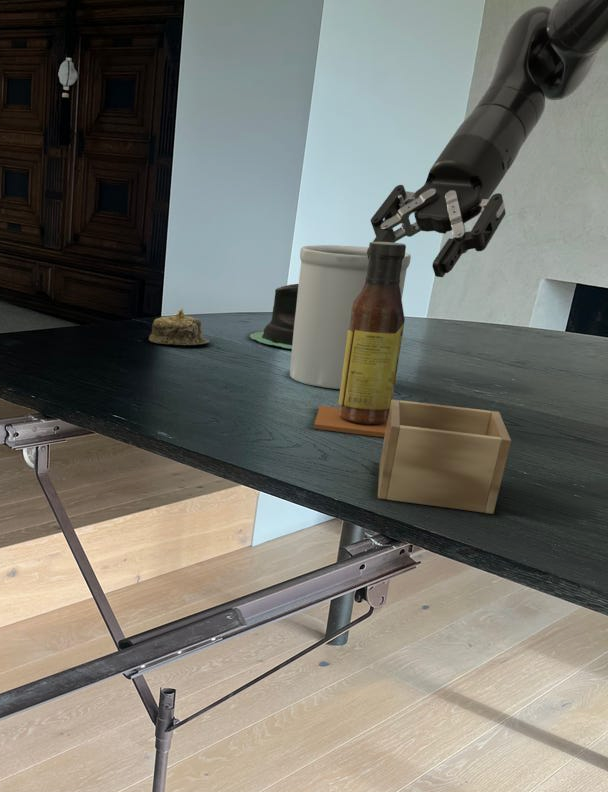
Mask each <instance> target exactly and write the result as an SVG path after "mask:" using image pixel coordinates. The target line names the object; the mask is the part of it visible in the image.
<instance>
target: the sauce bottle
mask: <svg viewBox="0 0 608 792" xmlns="http://www.w3.org/2000/svg"><path fill="white" fill-rule="evenodd" d="M368 244H369V245H368V247H369V250H368V255H369V263H368V270H367V276H366V278H365V280H366V281H365V285H364V287H363V289H362V291H361V293H360V294H359V295H358V296H357V298H356V299H355V300H354V302H353V306H352V311H351V319H350V327H349V328H348V334H347V342H346V350H345V357H344V365H343V372H342V380H341V387H340V389H339V395H338V396H339V397H338V401H337V402H338V405H339V406H338V407H337V408H338V415H339V416H340V417H341V418H342V419H344V420H347V421H350V422H354V423H359V424H381V423H384V422H386V421H387V419H388V415H389V410H390V405H391V400H392V399H393V398H394V392H395V385H396V379H397V373H398V365H399V358H400V354H401V348H402V347H401V346H402V341H403V340H402V339H403V335H404V327H405V313H404V306H403V301H402V300H403V298H402V299H401V292H400V286H399V283H400V273H401V267H402V260H403V258H404V256H405V253H406V249H407V245H406V244H405V243H403V242H394V243H392V242H373V241H370V242H369V243H368ZM393 400H394V399H393Z"/></svg>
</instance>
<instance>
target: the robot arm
mask: <svg viewBox="0 0 608 792" xmlns="http://www.w3.org/2000/svg"><path fill="white" fill-rule="evenodd" d="M607 43H608V0H557V1H556V2H555V3H554V4H553V6H552V8H550V7H549V6H546V5H538V6H534V7H531V8H529V9H527V10H526V11H524V12H522V14H521V15H520V16H519V17H518V18H517V19H516V20H515V21H514V23H512V26H511V27H510V29H509V31H508V33H507V34H506V37H505V39H504V42H503V44H502V47H501V49H500V53H499V55H498V60H497V63H496V67H495V70H494V73H493V76H492V79H491V81H490V83H489V85H488V88H487V89H486V91H485V92H484V94H483V96H482V97H481V98H480V100H479V101H478V103H477V104H476V106H475V107H474V109H473V110H472V111H471V113H470V114H469V115H468V117H467V118H466V119H464V121H462V122H461V124H460V125H459V127H458V128H457V129H456V131H455V132H454V134H453V135H452V137H451V138H450V139H449V141H448V143H447V144H446V145H445V147H444V148H443V150H442V152H441V153H440V154H439V155H438V157H437V159H436V160H435V162H434V163H433V165H431V167H430V169H429V171H428V174H427V177H426V180H425V183H424V184H423V185H422V186H421V187H420V188H419V189H418V190H416V191H415V192H414V191H406V188H405V186H404V184H398V185H396V186H395V187H394V188H393V190H391V191H390V193H389V195H388V196H387V197H386V199H385V200H384V201H383V203H381V205H380V206H379V207H378V209H377V210H376V212H375V213H374V214H373V216H372V217H371V218H370V223H371V226H372V229H373V232H374V235H375V237H374V239H373V240H372V242H392V243H397V242H398V241H400V240H401V239H403V238H405V237H408V238H410V237H411V238H412V237H413V236H415V235H417V234H418V233H420V232H427V233H429V232H435V233H439V234H444V235H445V234H446V233H447V232H451V231H452V235H453V237H452V238H448V239H447V240H446V242H445V243H444V245H443V247H442V248H441V249H440V251H439V252H438V254H437V255H436V257H435V258H434V259H433V261H432V270H433V273H434V276H435V277H437V278H444V277H445V275H446V274H449V273H450V272H451V271H452V270H453V269H454V267H455V265H456V263H458V261H459V259H460V258H461V257H462V255H464V254H466V253H467V252H469V250H475V251H476V252H482V251H483V252H484V250H485V249H486V248H487V247H488V245H489V244H490V241H491V240H492V238H493V236H494V234H495V233H496V231H497V230H498V228H499V226H500V225H501V224H502V223H501V222H502V221H503V220H504V217H505V216H506V213H507V211H506V208H505V202H504V199H503V195H502V193H500V192H499V193H498V192H497V193H494V192H495V191H496V189H497V188H498V186H499V185H500V183H501V182H502V180H503V179H504V178H505V176H506V175H507V173H508V171H509V170H510V168H511V167H512V165H513V164H514V162H515V161H516V159H517V156H518V155H519V152H520V150H521V149H522V146H523V145H524V143H525V142H526V140H527V139H528V138H529V136H530V135H531V133H532V131H533V130H534V129H535V127H536V126H537V125H538V124H539V121H540V119H541V118H542V116H543V114H544V111H545V107H546V99H547V100H550V101H561V100H563V99H565V98H568V97H569V96H570V95H572V94H573V93H575V92H576V91H577V90H578V89H579V87H580V86H581V85H582V84H583V82H584V81H585V80H586V78H587V76H588V74H589V73H590V72H591V70H592V68H593V66H594V63H595V61H596V59H597V56H598V55H599V51H600V50H601V49H602V48H603V47H604V46H605V45H606V44H607ZM493 193H494V194H493ZM412 214H414V218H415V222H413V223H411V221H410V216H411V215H412ZM477 216H478V218H477V220H476V222H475V223H474V225H473V227H472V228H471V230H470V231H466V227H465V223H467V222H469V221H470V220H472V219H474V218H475V217H477ZM399 225H401V226H400V227H398V226H399ZM395 227H398V228H397V229H396V230H394V228H395ZM368 250H369V248H368ZM368 250H367V254H368ZM368 259H369V255H368Z"/></svg>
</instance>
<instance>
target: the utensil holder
mask: <svg viewBox="0 0 608 792" xmlns="http://www.w3.org/2000/svg"><path fill="white" fill-rule="evenodd" d="M368 248H369V246H355V245H335V244H314V245H304V246H301V248H300V251H299V259H300V269H299V277H298V284H299V285H298V295H297V305H296V314H295V323H294V333H293V344H292V349H291V356H290V368H289V369H290V371H289V376H290V378H291V379H292V380H294V381H297V382H299V383H301V384H305V385H309V386H312V387H313V386H314V387H319V388H324V389H325V388H326V389H330V390H331V389H332V390H333V389H334V390H340V387H341V380H342V372H343V365H344V357H345V350H346V342H347V334H348V328H349V327H350V319H351V311H352V306H353V302H354V300H355V299H356V298H357V296H358V295H359V294H360V293H361V291H362V289H363V287H364V285H365V281H366V280H365V278H366V276H367V270H368V263H369V259H368V254H367V250H368ZM411 258H412V256H411V254H410V253H408V252H405V256H404V258H403V260H402V267H401V273H400V283H399V286H400V292H401V299H402V300H403V295H404V294H403V293H404V288H405V280H406V275H407V270H408V268H409V266H410V263H411V260H412V259H411Z"/></svg>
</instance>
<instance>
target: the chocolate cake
mask: <svg viewBox="0 0 608 792" xmlns="http://www.w3.org/2000/svg"><path fill="white" fill-rule="evenodd" d="M298 285H299V283H292V284H287V285H283V286H280V287H277V288H275V291H274V301H273V307H272V312H271V313H272V315H271V319H270V322H269V323H268V324H266V325H265V327H264V328H263V331H259V332H258V331H257V332H254V333H250V335H249V338H250V339H251V340H255V341H257V342H258V343H262V344H265V345H270V346H276V347H281V348H284V349H289V350H290V349H291V350H292V344H293V333H294V323H295V314H296V305H297V295H298Z"/></svg>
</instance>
